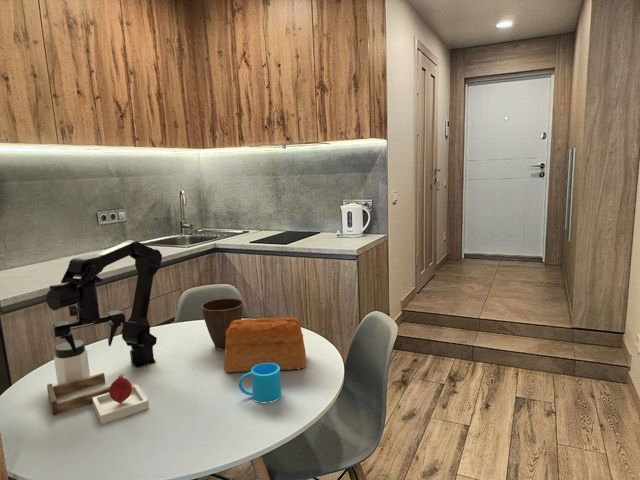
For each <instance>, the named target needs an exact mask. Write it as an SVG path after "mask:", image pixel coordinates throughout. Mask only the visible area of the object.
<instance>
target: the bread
mask: <svg viewBox="0 0 640 480" xmlns="http://www.w3.org/2000/svg"><path fill="white" fill-rule="evenodd" d="M224 350H225V351H224V361H223V363H224V364H223V370H224V371H225V372H226V373H237V372H238V373H240V372H242V373H243V372H244V373H245V372H251V369H252V368H253V367H254V366H256V365H258V364H262V363H274V364H277V365H278V366H279V367H280V371H287V370H289V371H291V370H292V369H298V368H303V367H304V366H305V365H306V364H307V363H306V362H307V361H306V358H307V357H306V355H307V354H306V347H305V342H304V335H303V331H302V324H301V322H300V320H299V318H296V317H275V318H271V317H270V318H268V317H266V318H264V317H259V318H244V319H243V318H242V319H241V320H234V321H233V322H231V324H230V327H229V328H228V330H227V331H226V347H225V349H224ZM306 366H307V365H306ZM306 366H305V367H306ZM305 367H304V368H305ZM304 368H303V369H304ZM298 370H299V369H298Z"/></svg>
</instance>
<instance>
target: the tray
mask: <svg viewBox="0 0 640 480" xmlns="http://www.w3.org/2000/svg"><path fill="white" fill-rule="evenodd" d="M92 401H93V404H92V407H93V409H94V410H95V413H96V416H97V417H98V420H99V422H100V425H103V424H106V423H109V422H112V421H115V420H117V419H121V418H124V417H127V416H129V415H132V414H136V413H139V412H141V411H144V410H147V409H150V405H149V403H150V402H149V399H148V397H147V396H146V395H145V393H144V392H143V391H142V390H141V388H140V387H139V385H138V384H133V385H132V392H131V395H130V396H129V397H128V398H127V399H126V400H125V401H123V402H122V403H118V402H116V401H114V400H113V399H112V398H111V397H110V394H109V393H105V394H102V395H99V396H95V397H92Z"/></svg>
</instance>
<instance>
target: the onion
mask: <svg viewBox="0 0 640 480" xmlns="http://www.w3.org/2000/svg"><path fill="white" fill-rule="evenodd" d="M109 387H110V389H109V394H110V397H111V398H112V399H113V400H114V401H116V402H118V403H122V402H123V401H125V400H126V399H127V398H128V397H129V396H130V395H131V392H132V382H131V381H130V380H129V379H128V378H126V377H124V374H119V375H118V378H116V379H115V380H113V382H112V383H111V384H110V386H109Z"/></svg>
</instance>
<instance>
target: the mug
mask: <svg viewBox="0 0 640 480" xmlns="http://www.w3.org/2000/svg"><path fill="white" fill-rule="evenodd" d="M248 376H251V389H252V391H248V390H246V389H245V388H244V387H243V380H245V378H247V377H248ZM281 383H282V381H281V370H280V367H279V366H278V365H277V364H274V363H262V364H258V365H256V366H254V367H253V368H252V369H251V371H247V373H245V374H243V375H242V376H241V377H240V378H239V380H238V384H237V385H238V388H239V390H240V392H242V393H243V394H245V395H247V396H250V397H251V396H252V400H256V401H258V402H270V401H274V400H276V399H278V398H279V397H280V396H282V385H281ZM280 398H281V397H280ZM280 398H279V399H280ZM279 399H278V400H279ZM256 401H255V402H256ZM276 401H277V400H276ZM258 402H257V403H258ZM274 402H275V401H274Z"/></svg>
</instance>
